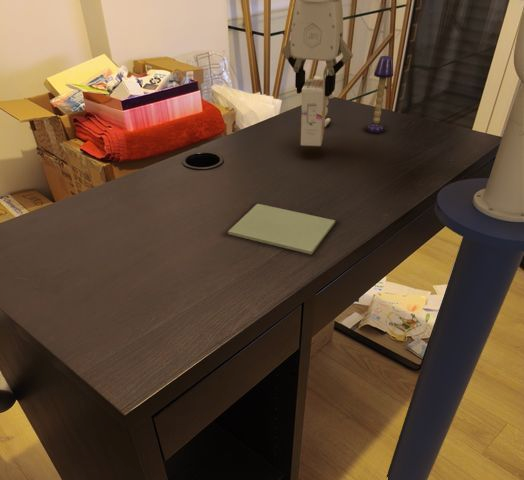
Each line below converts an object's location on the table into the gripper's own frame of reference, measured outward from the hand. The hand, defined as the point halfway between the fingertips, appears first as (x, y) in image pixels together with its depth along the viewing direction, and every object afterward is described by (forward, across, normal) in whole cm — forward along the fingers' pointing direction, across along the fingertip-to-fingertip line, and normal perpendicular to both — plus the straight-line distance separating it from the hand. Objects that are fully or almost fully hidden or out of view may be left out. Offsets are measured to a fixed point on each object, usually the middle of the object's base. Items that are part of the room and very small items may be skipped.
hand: (314, 92), depth 104 cm
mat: (+14, +8, -36) cm, 39 cm away
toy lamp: (+13, +9, +22) cm, 28 cm away
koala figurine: (+13, -6, +19) cm, 24 cm away
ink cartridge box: (+10, 0, 0) cm, 10 cm away
